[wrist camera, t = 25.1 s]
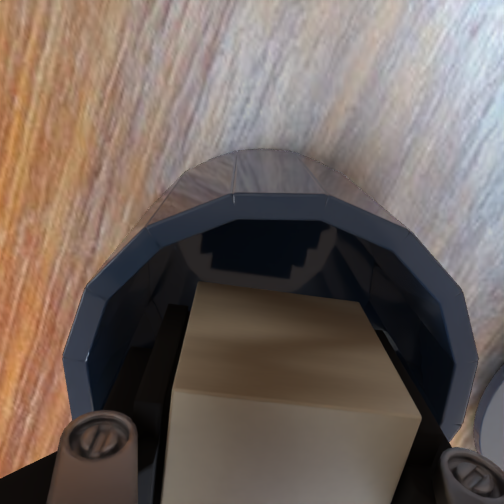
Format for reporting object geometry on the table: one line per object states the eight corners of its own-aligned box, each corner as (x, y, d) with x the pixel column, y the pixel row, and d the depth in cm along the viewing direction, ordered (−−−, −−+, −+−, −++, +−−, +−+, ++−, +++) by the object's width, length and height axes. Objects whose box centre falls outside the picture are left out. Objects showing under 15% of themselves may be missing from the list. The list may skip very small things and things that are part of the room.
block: (359, 301, 12) (423, 417, 7) (325, 427, 13) (363, 582, 9) (197, 279, 11) (171, 389, 7) (182, 412, 13) (153, 565, 9)
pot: (341, 106, 15) (423, 118, 8) (409, 332, 19) (506, 475, 12) (92, 206, 17) (-20, 290, 10) (198, 402, 20) (172, 570, 13)
